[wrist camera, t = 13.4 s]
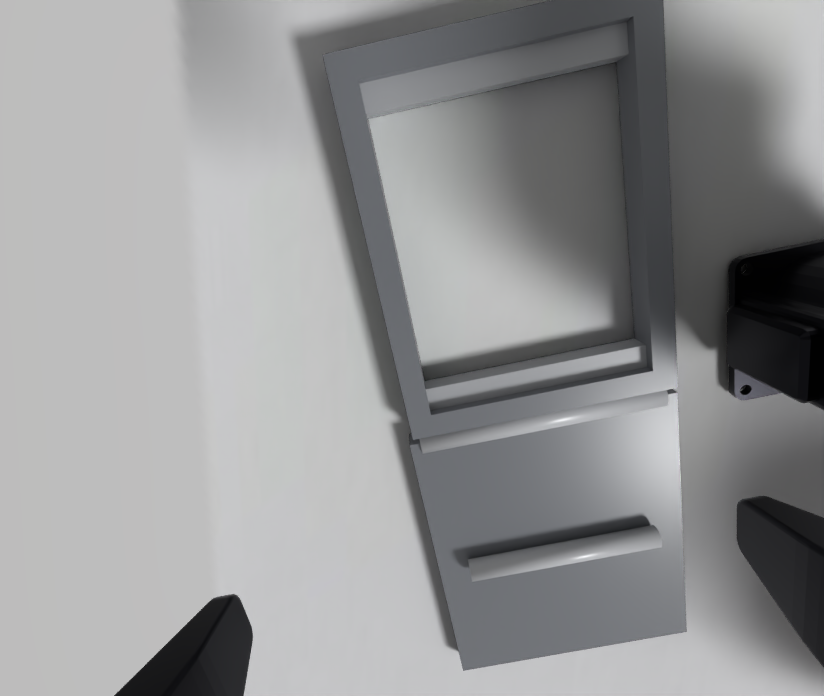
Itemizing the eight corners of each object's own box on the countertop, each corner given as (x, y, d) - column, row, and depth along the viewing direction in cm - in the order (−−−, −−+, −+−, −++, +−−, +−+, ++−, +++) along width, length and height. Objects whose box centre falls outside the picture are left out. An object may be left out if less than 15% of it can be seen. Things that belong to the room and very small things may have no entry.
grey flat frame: (647, -9, 17) (678, -35, 15) (675, 615, 26) (697, 648, 24) (322, 67, 17) (312, 51, 15) (461, 653, 26) (465, 689, 24)
